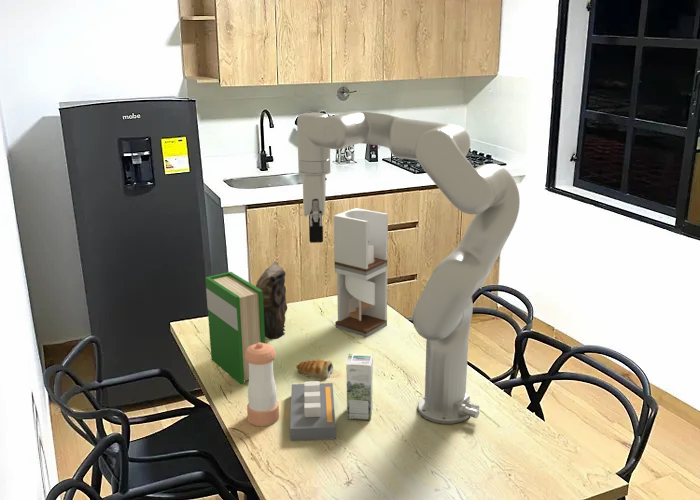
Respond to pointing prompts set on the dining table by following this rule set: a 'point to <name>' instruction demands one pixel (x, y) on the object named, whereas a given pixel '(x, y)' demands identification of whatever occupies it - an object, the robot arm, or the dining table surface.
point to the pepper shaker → (261, 385)
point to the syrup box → (359, 386)
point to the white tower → (361, 270)
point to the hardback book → (234, 322)
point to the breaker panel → (312, 425)
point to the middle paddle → (312, 397)
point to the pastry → (315, 368)
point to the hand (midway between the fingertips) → (316, 236)
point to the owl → (273, 300)
